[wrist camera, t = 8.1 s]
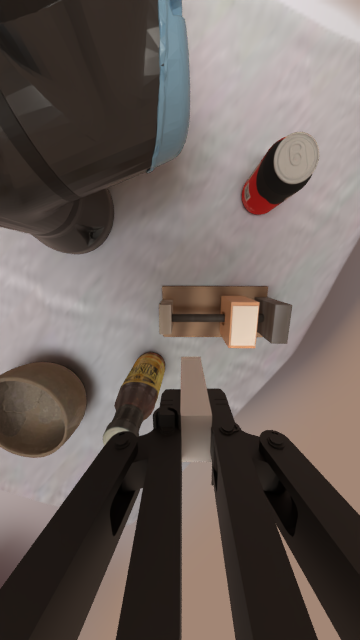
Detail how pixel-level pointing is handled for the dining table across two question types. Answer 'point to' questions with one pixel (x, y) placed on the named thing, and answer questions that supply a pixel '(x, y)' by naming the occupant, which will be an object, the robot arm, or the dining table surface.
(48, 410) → the bowl
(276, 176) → the beverage can
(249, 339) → the sleeve
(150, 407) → the sauce bottle
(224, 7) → the dining table surface
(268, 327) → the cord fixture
